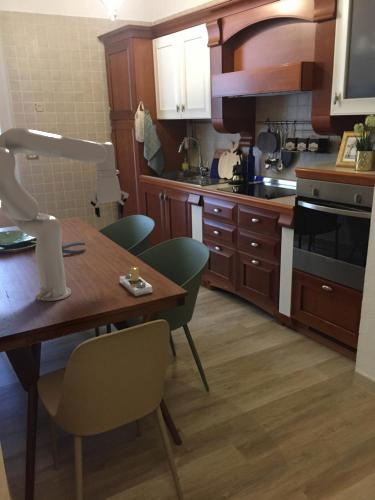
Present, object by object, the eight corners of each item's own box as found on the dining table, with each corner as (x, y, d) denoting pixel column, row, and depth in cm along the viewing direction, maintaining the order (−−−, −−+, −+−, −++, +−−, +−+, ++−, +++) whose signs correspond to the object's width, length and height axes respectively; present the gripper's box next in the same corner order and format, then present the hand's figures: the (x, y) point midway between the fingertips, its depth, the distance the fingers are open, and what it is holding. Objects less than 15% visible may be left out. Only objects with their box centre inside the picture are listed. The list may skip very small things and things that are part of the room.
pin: (138, 289, 172) (137, 269, 170) (130, 288, 173) (128, 269, 171) (140, 285, 176) (139, 267, 173) (132, 285, 176) (131, 266, 174)
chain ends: (152, 292, 169) (151, 283, 168) (135, 296, 166) (134, 287, 165) (135, 279, 183) (135, 271, 182) (120, 282, 180) (119, 274, 179)
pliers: (45, 258, 216) (44, 246, 214) (45, 257, 217) (43, 245, 216) (86, 252, 223) (85, 241, 221) (85, 251, 224) (84, 240, 223)
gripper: (124, 171, 184) (126, 211, 189) (83, 174, 177) (87, 216, 182) (129, 173, 177) (132, 214, 182) (87, 176, 170) (91, 219, 175)
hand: (109, 215), depth 182 cm, fingers open, 9 cm apart
